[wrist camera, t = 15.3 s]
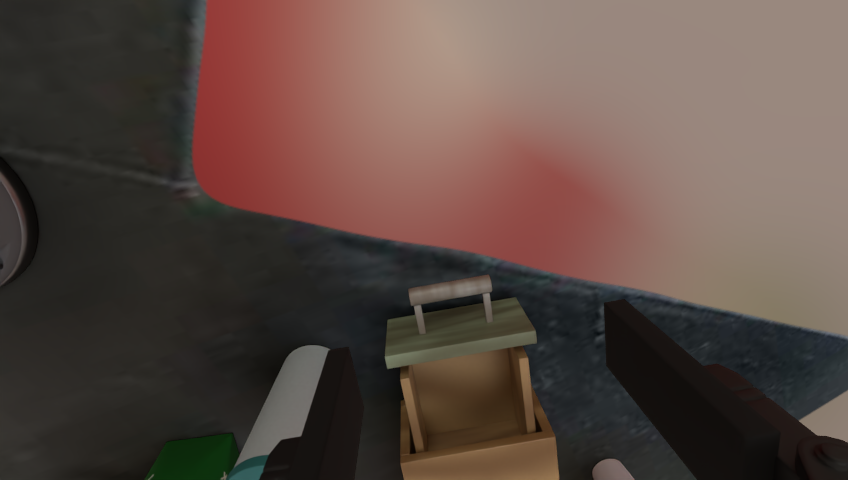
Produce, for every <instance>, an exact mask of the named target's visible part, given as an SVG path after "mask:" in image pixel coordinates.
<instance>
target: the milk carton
mask: <svg viewBox="0 0 848 480" xmlns="http://www.w3.org/2000/svg"><path fill="white" fill-rule="evenodd" d="M239 456H240V455H239V452H238V449H237V445H236V442H235V439H234V436H233V433H230V434H222V435H215V436H207V437H199V438H192V439H184V440H176V441H169V442H166V444H165V446H164V447H163V449H162V451H161V452H160V454H159V456H158V457H157V459H156V461H155V463H154V464H153V466H152V468H151V469H150V471H149V473H148V474H147V476H146V478H145V479H144V480H226V478H227V476H228V475H229V473H230V472H231V471H232V469H233V468H234V466H235V464H236V462H237V460H238V458H239Z"/></svg>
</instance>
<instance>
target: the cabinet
mask: <svg viewBox="0 0 848 480" xmlns="http://www.w3.org/2000/svg"><path fill="white" fill-rule="evenodd" d="M531 391H532V400H533V409H534V419H535V428H536V433H531V434H525V435H520V436H514V437H508V438H502V439H496V440H491V441H485V442H479V443H473V444H467V445H462V446H456V447H450V448H444V449H439V450H433V451H427V452H421V453H416V450H415V445H414V441H413V436H412V432H411V427H410V422H409V418H408V413H407V409H406V404H405V400H401V440H400V456H401V457H400V465H401V469H402V473H403V477H404V480H559V471H558V459H557V448H556V437H555V435H554V433H553V431H552V428H551V426H550V424H549V422H548V420H547V417H546V415H545V413H544V411H543V409H542V407H541V405H540V402H539V400H538V398H537V396H536V394H535V392H534V390H533V387H532V385H531Z"/></svg>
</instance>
